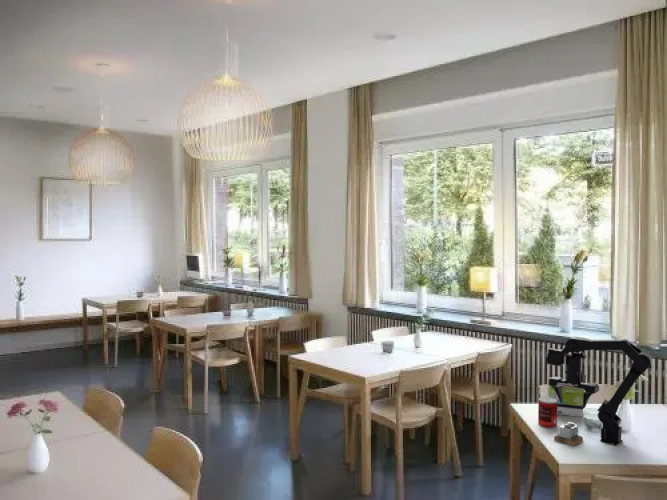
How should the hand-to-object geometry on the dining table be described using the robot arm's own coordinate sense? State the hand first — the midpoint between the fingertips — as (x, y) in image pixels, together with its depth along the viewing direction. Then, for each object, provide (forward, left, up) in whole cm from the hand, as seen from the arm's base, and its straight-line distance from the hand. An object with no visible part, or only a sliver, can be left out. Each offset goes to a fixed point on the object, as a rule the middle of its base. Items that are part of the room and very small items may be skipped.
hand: (572, 405), depth 236 cm
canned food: (+12, -3, -12) cm, 18 cm away
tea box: (+15, -25, -12) cm, 32 cm away
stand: (-2, +9, -12) cm, 15 cm away
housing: (-2, +9, -10) cm, 13 cm away
